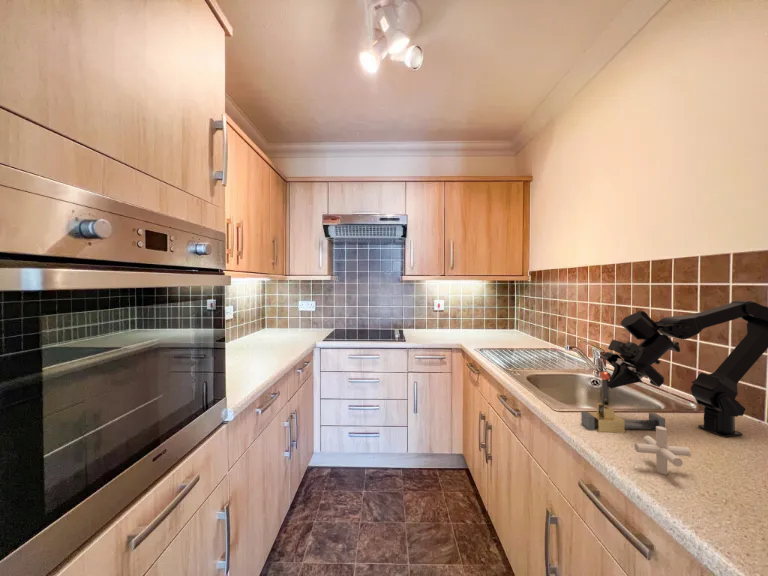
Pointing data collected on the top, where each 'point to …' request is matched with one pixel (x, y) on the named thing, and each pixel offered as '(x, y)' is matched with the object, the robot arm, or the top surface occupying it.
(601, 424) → the valve pipe
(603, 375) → the valve lever
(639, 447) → the pipe connector
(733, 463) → the top surface
